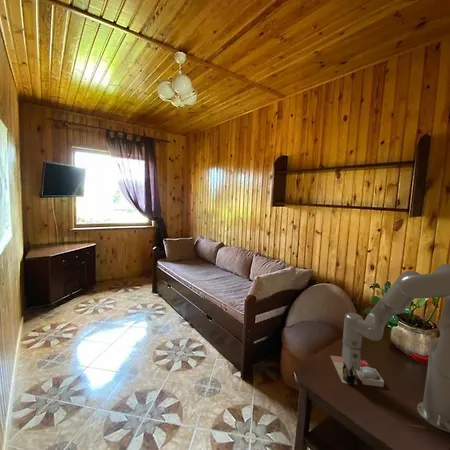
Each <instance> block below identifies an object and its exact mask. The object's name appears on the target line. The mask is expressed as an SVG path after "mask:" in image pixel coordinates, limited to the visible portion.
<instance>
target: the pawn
mask: <svg viewBox="0 0 450 450" xmlns="http://www.w3.org/2000/svg"><path fill="white" fill-rule="evenodd" d="M350 372H353V370H350ZM347 374H348V368H347V366H346V367H345V369H344V371H343V375H342V376H343V380H344V381H345V382H347Z"/></svg>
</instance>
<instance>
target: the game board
mask: <svg viewBox="0 0 450 450" xmlns="http://www.w3.org/2000/svg"><path fill="white" fill-rule="evenodd" d="M330 359H331V360H332V363H333V365H334V367H335V370H336V372H337V374H338V376H339V378H340V381H341V383H343V384H350V383H347V382H345V381H344V380H343V366H344V365H343V361H344V360H343V358H342V356H337V355H330ZM353 385H356V386H357V385H359V384H358V382H357V381H356V379H355V383H354V384H353Z"/></svg>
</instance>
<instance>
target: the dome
mask: <svg viewBox="0 0 450 450" xmlns="http://www.w3.org/2000/svg"><path fill="white" fill-rule="evenodd" d="M375 369H376V368H373V367H371V366H369V367H367V366H365V367H363V368H362V374H363V376H364V378H368V379H376V380H377V372H378V370H377V369H376V370H375Z"/></svg>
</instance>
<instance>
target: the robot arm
mask: <svg viewBox="0 0 450 450" xmlns="http://www.w3.org/2000/svg"><path fill="white" fill-rule="evenodd" d="M441 297H445V302H444V306H443V309H442V312H441V315H440V318H439V320H438V324H437V325H438V326H437V327H438V329H439V333H440V336H439V337H435V338H433V339H432V340H431V341H430V343H429V347H428V352H429V358H428V365H427V371H426V377H425V385H424V391H423V392H424V393H423V401H421V402H419V403H418V404H417V406H416V411H417V413H418V414H419V416H420V417H421V418H422V419H424V421H426V422H427V423H428V424H429V425H431V426H432V427H434V428H436V429H439V430H440V431H444V432H448V433H450V263H442V264H440V265H439V266H437V267H436V268H435V270H434V272H431V273H423V274H421V273H419V272H418V271H415V270H406V271H404V272H402V273H400V275H399V276H398V277H397V279H396V280H395V281H394V282H393V283H392V285H391V286H390V287H389V289H388V290H387V291H386V292H385V294H384V295H383V296H382V297H381V298H380V300H379V301H378V302H377V303H376V304H375V305H374V306H373V308H372V309H371V310H370V311H369V313H368V314H367V315H366V317H365V319H364V317H363V316H361V315H360V314H359V313H355V312H346V313H345V315H344V321H343V323H344V324H343V330H342V331H343V333H342V349H341V350H342V351H341V357H342V358H343V360H344V361H343V365H344V366H343V371H344V369H345V367H346V366H347V368H348V374H347V383H346V384H349V383H350V384H351V385H355V384H354V383H355V380H356V376H358V375H357V371H360V361H361V360H362V359H361V356H362V355H361V348H362V341H363V337H364V338H366V339H369V340H370V341H380V340H381V339H382V338H383V336H384V332H385V331H384V330H385V326H386V325H387V324H388V322H389V321H390V320H391V319H392V318H393V317H394V316H395V315H397V314H399V313H403V312H405V311H406V309H408V308H409V306H410V305H411V304H412V302H413V301H414V300H415V299H431V298H441ZM350 370H353V372H350Z"/></svg>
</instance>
